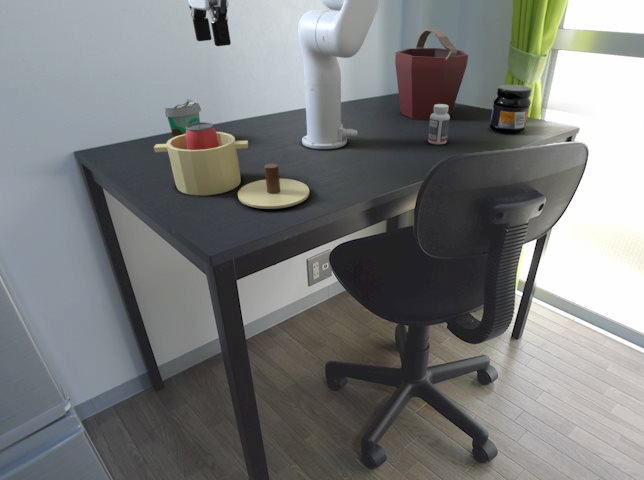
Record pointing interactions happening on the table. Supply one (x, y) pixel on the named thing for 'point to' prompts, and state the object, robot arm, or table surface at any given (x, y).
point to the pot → (204, 165)
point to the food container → (183, 116)
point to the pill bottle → (439, 125)
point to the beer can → (201, 136)
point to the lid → (273, 191)
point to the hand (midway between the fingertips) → (213, 42)
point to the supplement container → (510, 109)
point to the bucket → (429, 76)
